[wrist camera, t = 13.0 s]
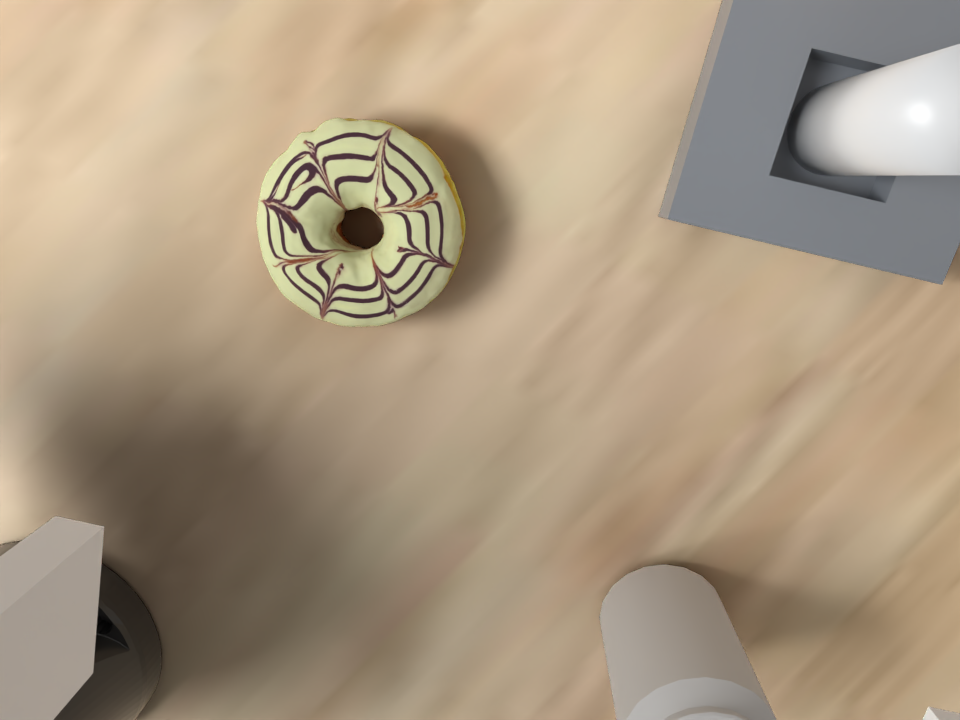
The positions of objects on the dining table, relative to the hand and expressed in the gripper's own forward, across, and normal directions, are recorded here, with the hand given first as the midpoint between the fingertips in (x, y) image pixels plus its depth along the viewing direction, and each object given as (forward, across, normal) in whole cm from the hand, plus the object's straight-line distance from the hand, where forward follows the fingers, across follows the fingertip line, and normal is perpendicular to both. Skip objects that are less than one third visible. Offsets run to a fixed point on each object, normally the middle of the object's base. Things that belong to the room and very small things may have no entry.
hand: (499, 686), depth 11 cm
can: (+28, +13, -16) cm, 35 cm away
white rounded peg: (+27, +14, +13) cm, 33 cm away
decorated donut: (+29, -9, +4) cm, 30 cm away
